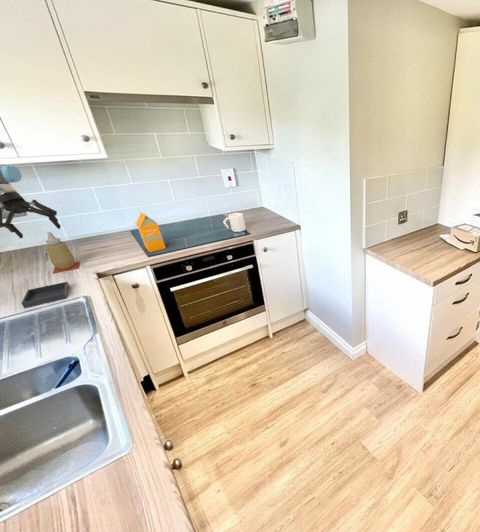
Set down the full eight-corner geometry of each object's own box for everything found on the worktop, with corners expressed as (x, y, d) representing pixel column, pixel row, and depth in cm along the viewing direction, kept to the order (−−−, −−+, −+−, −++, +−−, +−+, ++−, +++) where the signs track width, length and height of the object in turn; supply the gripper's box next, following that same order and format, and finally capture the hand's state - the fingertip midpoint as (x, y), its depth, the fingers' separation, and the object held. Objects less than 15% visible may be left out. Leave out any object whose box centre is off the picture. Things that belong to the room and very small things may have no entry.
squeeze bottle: (61, 272, 152) (43, 236, 144) (51, 268, 154) (32, 234, 146) (81, 264, 159) (65, 230, 150) (71, 262, 161) (54, 228, 153)
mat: (52, 273, 151) (52, 273, 151) (55, 266, 157) (55, 265, 157) (78, 268, 156) (78, 268, 156) (80, 261, 162) (79, 261, 162)
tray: (24, 308, 126) (21, 303, 125) (30, 294, 135) (27, 289, 134) (66, 298, 133) (63, 293, 132) (69, 286, 142) (67, 281, 141)
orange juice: (161, 243, 184) (149, 210, 175) (166, 248, 179) (154, 213, 170) (144, 247, 179) (132, 213, 170) (149, 252, 174) (136, 217, 165)
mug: (244, 226, 212) (241, 212, 208) (246, 230, 206) (243, 215, 201) (224, 229, 207) (221, 214, 202) (226, 233, 200) (222, 218, 196)
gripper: (42, 195, 162) (72, 227, 163) (-32, 208, 141) (4, 245, 143) (43, 185, 157) (74, 219, 159) (-33, 197, 137) (3, 236, 139)
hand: (41, 231), depth 151 cm, fingers open, 13 cm apart
